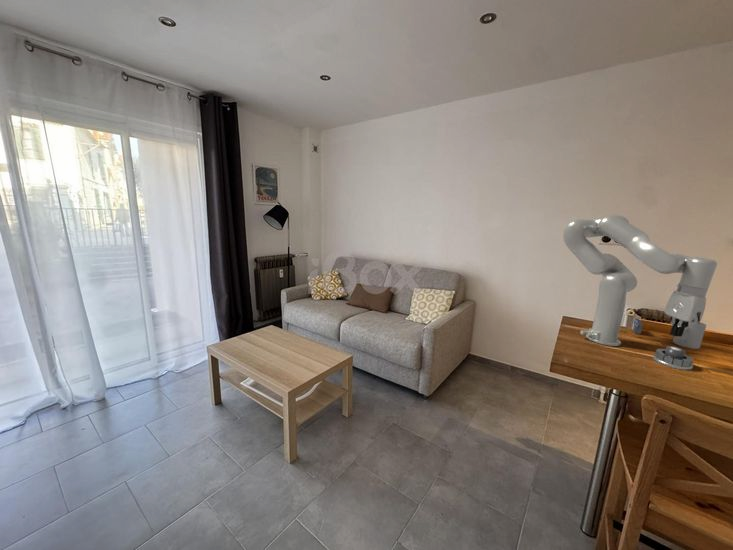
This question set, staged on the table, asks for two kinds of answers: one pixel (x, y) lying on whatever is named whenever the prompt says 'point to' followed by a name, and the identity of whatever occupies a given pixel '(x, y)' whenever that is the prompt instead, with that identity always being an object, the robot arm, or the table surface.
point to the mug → (691, 336)
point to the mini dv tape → (636, 326)
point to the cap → (675, 352)
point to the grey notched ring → (673, 360)
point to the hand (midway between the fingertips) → (675, 335)
